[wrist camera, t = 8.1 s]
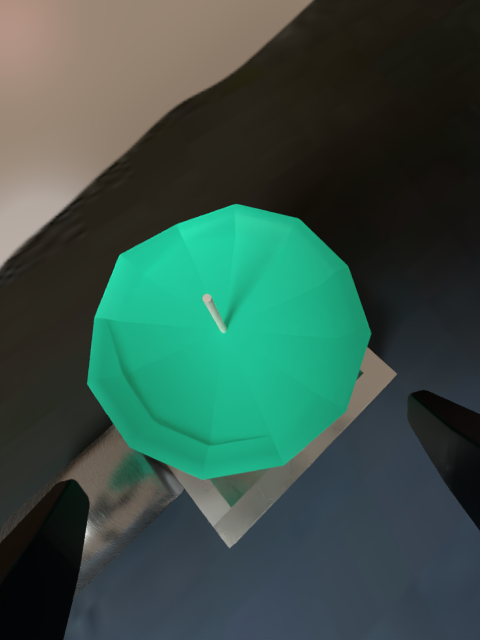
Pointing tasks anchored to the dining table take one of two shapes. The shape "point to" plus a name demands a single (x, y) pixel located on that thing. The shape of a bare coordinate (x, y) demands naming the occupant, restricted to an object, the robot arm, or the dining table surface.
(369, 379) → the white tray
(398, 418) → the dining table surface
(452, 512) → the dining table surface
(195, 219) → the candle
